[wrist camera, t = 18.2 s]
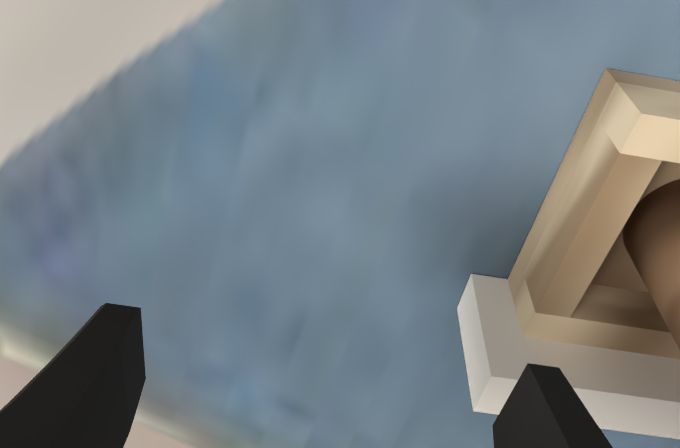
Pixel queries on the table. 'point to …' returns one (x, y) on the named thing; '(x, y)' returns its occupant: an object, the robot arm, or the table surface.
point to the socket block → (601, 223)
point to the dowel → (658, 249)
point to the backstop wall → (563, 366)
